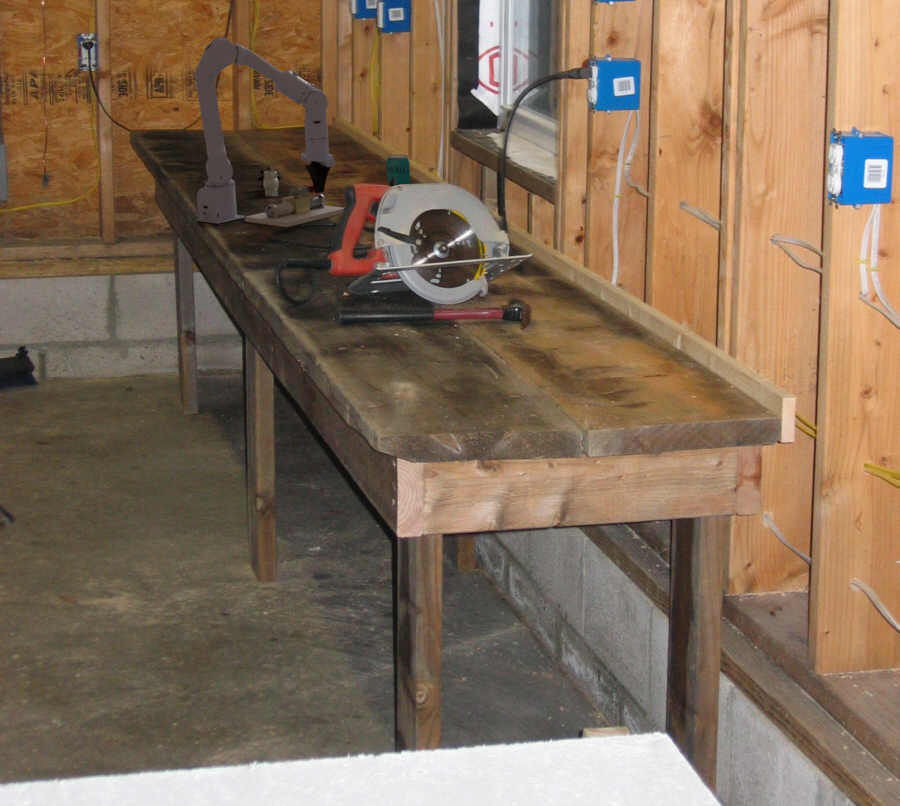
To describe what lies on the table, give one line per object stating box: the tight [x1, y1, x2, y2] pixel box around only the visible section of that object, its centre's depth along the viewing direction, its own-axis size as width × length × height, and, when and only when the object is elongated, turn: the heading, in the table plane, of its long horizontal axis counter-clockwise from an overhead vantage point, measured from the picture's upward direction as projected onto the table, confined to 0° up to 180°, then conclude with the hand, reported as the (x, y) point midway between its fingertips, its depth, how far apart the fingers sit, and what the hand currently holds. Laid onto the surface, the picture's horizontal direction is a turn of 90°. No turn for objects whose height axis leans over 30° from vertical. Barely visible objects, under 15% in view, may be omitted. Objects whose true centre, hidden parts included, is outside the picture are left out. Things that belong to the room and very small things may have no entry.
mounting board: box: [244, 205, 345, 228], centre depth 356 cm, size 22×14×1 cm, turn 142°
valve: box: [256, 165, 282, 197], centre depth 390 cm, size 7×7×12 cm
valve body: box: [264, 193, 327, 219], centre depth 355 cm, size 18×5×4 cm, turn 142°
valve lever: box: [289, 183, 316, 196], centre depth 357 cm, size 10×3×2 cm, turn 142°
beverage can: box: [385, 154, 411, 186], centre depth 351 cm, size 6×6×15 cm
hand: (319, 192), depth 358 cm, fingers closed
